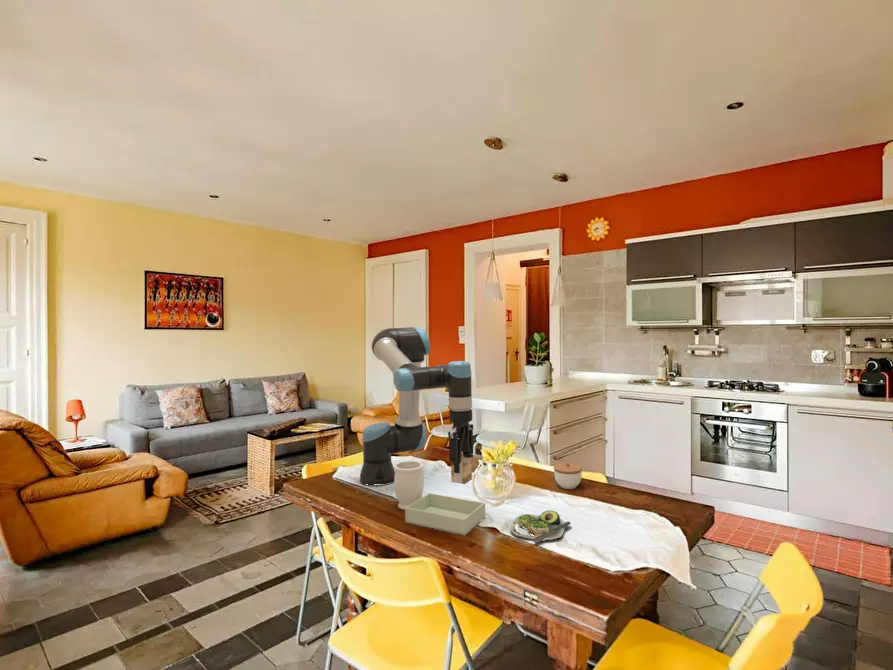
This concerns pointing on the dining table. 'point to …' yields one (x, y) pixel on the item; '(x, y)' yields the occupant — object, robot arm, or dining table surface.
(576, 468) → the lidded jar
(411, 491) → the jar
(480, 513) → the tote
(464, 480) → the cube
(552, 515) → the avocado toast plate
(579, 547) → the dining table surface
